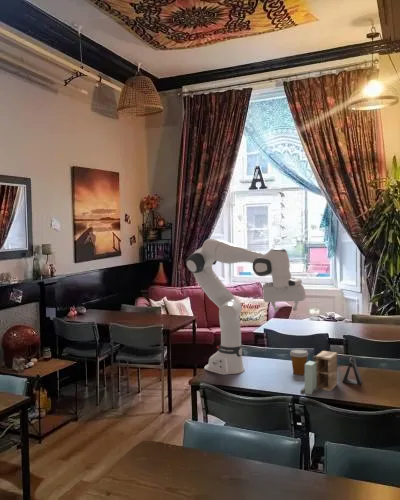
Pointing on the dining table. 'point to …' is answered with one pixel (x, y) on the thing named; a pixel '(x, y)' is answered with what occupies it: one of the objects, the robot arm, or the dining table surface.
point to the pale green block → (310, 377)
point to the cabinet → (325, 371)
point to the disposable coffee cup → (299, 360)
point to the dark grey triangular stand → (357, 375)
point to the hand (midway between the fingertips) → (285, 310)
